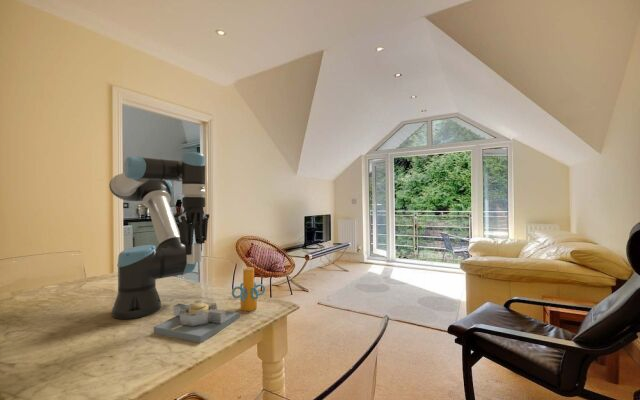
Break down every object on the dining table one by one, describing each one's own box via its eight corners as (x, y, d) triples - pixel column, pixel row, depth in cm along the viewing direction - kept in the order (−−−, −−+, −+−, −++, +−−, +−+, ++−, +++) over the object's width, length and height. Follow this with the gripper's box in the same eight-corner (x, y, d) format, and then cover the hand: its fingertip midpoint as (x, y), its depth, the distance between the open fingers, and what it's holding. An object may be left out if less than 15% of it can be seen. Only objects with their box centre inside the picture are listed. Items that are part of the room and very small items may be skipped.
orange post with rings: (255, 315, 101) (254, 273, 101) (227, 313, 103) (227, 271, 103) (268, 303, 113) (268, 265, 113) (243, 301, 115) (243, 264, 115)
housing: (153, 333, 88) (153, 311, 88) (197, 311, 105) (197, 293, 105) (200, 343, 82) (200, 320, 82) (238, 318, 99) (238, 299, 99)
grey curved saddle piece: (162, 320, 92) (162, 308, 92) (188, 308, 102) (188, 296, 102) (210, 329, 85) (210, 316, 85) (233, 315, 96) (233, 303, 96)
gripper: (185, 196, 94) (185, 268, 94) (217, 196, 108) (217, 259, 108) (167, 196, 96) (167, 266, 96) (201, 196, 111) (201, 257, 111)
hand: (194, 262), depth 102 cm, fingers open, 3 cm apart
